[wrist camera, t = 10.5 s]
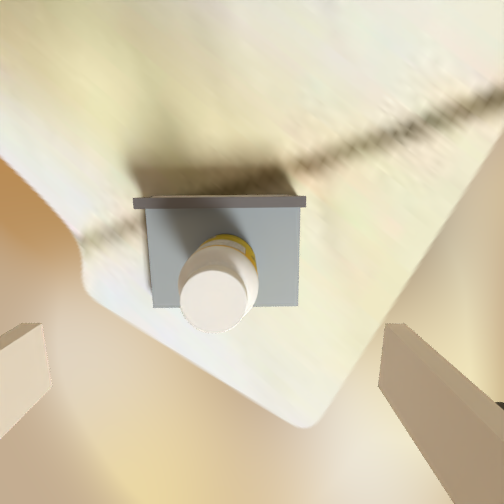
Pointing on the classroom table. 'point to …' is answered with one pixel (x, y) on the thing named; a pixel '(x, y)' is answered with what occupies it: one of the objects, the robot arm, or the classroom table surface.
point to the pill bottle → (218, 283)
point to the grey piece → (224, 222)
